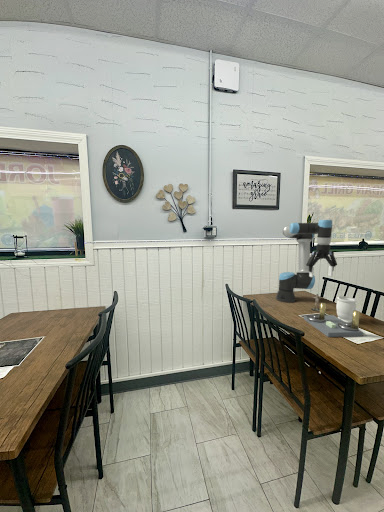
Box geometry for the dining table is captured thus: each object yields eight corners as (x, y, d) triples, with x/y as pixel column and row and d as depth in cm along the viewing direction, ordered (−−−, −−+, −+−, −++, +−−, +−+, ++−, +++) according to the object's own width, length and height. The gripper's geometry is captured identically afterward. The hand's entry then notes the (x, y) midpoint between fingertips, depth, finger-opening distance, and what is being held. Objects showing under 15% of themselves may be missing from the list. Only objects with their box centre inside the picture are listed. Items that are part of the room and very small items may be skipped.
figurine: (323, 308, 164) (324, 293, 162) (326, 312, 157) (327, 296, 156) (307, 307, 166) (308, 292, 164) (309, 310, 159) (311, 295, 158)
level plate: (303, 319, 145) (304, 312, 144) (332, 318, 146) (333, 311, 145) (328, 337, 121) (328, 328, 120) (362, 336, 122) (363, 328, 121)
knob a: (307, 320, 136) (308, 304, 135) (305, 314, 145) (306, 299, 144) (326, 323, 132) (327, 306, 131) (323, 317, 141) (324, 301, 140)
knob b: (334, 325, 129) (335, 308, 128) (342, 322, 134) (344, 305, 133) (353, 332, 121) (355, 313, 119) (361, 328, 126) (363, 310, 124)
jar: (357, 324, 137) (360, 301, 135) (339, 323, 139) (341, 300, 137) (349, 317, 147) (351, 296, 145) (332, 316, 149) (334, 295, 147)
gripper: (309, 245, 133) (306, 278, 136) (345, 244, 136) (342, 277, 140) (301, 243, 140) (299, 275, 144) (336, 243, 144) (333, 274, 147)
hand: (320, 276), depth 142 cm, fingers open, 13 cm apart
